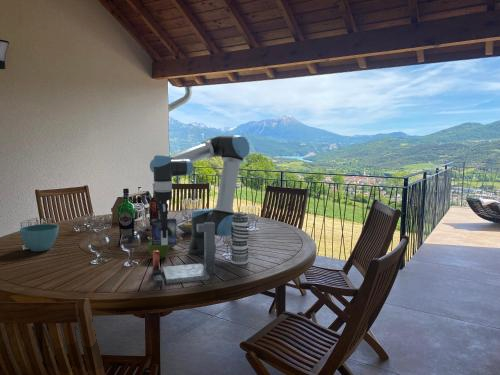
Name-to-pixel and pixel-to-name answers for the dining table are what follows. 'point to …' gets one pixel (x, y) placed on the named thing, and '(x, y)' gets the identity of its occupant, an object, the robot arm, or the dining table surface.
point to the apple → (162, 249)
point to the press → (193, 270)
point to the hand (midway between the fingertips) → (163, 242)
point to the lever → (156, 262)
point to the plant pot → (39, 236)
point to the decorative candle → (239, 238)
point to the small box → (157, 233)
